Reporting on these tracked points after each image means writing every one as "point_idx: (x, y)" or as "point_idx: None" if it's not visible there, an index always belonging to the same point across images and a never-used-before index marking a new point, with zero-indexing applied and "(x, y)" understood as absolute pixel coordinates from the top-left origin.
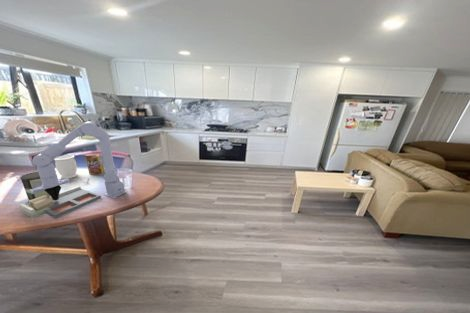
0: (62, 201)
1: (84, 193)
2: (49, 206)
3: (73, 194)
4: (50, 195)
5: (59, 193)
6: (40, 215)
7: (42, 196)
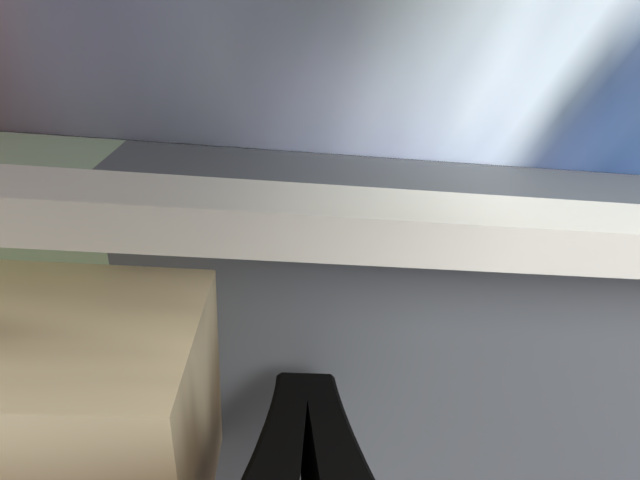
0: None
1: (622, 468)
2: None
3: (574, 376)
4: (249, 477)
5: (512, 260)
6: None
7: (91, 434)
